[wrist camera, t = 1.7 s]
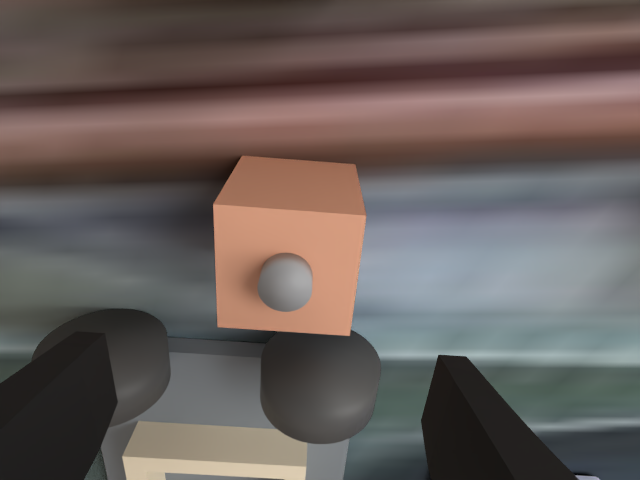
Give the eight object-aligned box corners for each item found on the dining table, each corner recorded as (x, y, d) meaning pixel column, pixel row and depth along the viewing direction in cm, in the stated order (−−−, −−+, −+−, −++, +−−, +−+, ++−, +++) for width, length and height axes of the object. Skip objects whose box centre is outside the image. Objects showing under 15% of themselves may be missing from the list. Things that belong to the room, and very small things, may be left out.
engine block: (355, 164, 17) (368, 227, 12) (343, 261, 19) (351, 352, 14) (242, 155, 17) (206, 215, 12) (242, 254, 19) (212, 343, 14)
